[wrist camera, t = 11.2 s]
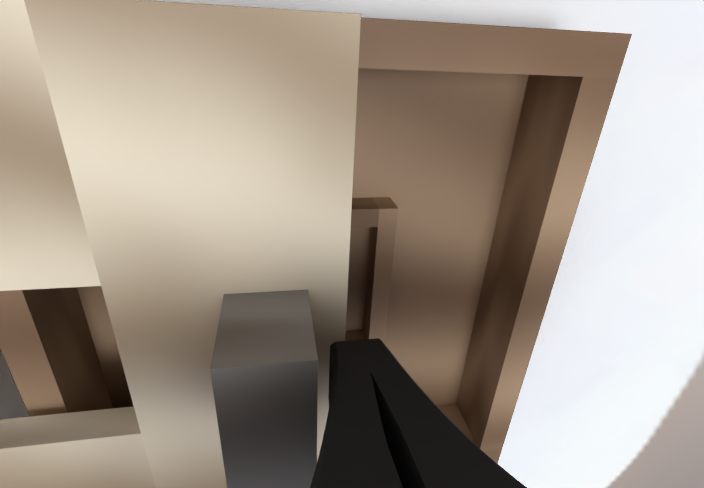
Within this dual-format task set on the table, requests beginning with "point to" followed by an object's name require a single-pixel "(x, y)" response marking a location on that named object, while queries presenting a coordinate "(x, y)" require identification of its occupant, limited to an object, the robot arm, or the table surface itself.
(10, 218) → the lid
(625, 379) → the table surface
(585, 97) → the wooden box
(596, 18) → the table surface
